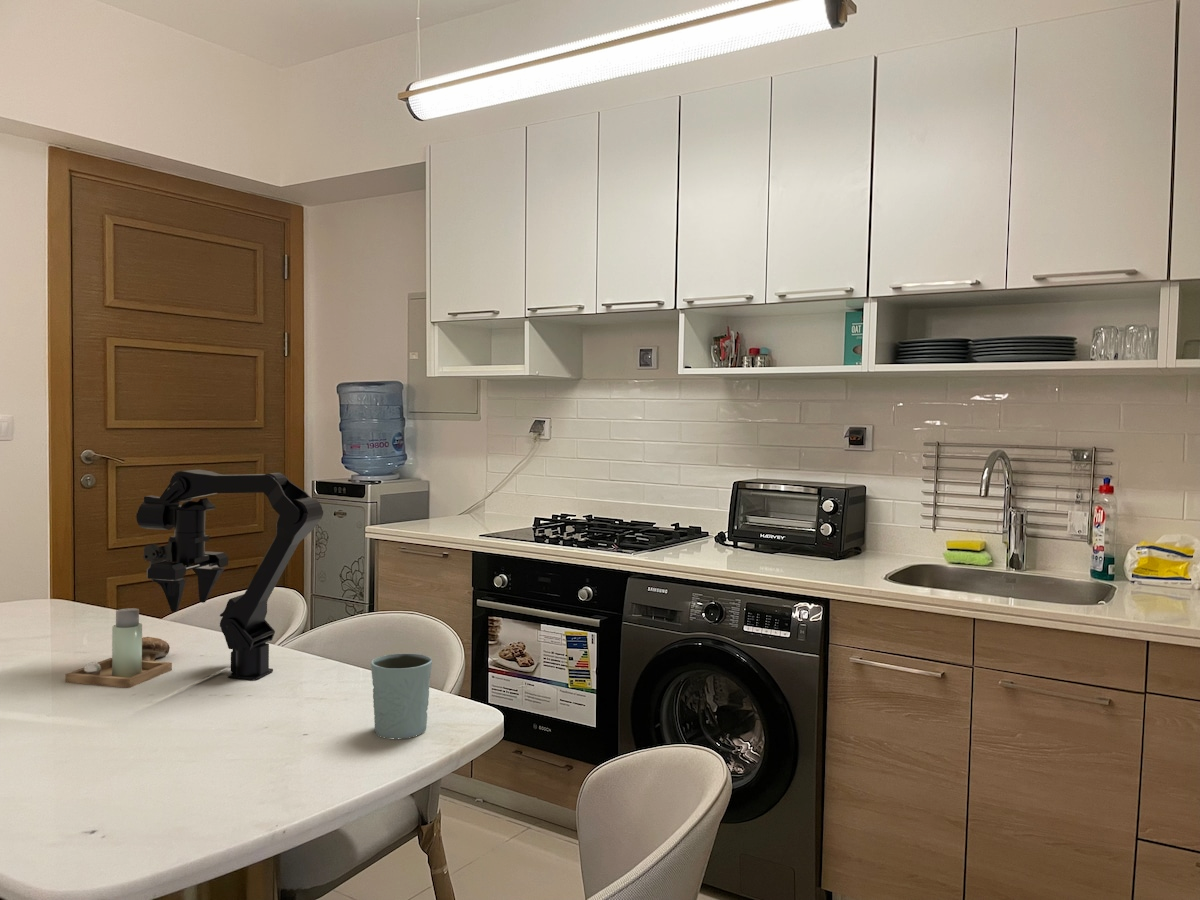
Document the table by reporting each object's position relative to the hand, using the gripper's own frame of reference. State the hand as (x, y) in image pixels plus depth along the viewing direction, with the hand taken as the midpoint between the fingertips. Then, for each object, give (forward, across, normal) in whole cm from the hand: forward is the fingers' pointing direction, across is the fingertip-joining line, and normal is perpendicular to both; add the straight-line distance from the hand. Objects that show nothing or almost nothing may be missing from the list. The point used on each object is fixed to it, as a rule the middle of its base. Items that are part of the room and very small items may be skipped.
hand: (188, 606), depth 184 cm
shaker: (+12, +10, -6) cm, 17 cm away
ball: (+12, +12, -12) cm, 21 cm away
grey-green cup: (+13, +22, +56) cm, 62 cm away
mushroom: (+14, -2, -11) cm, 17 cm away
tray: (+13, +10, -8) cm, 18 cm away
